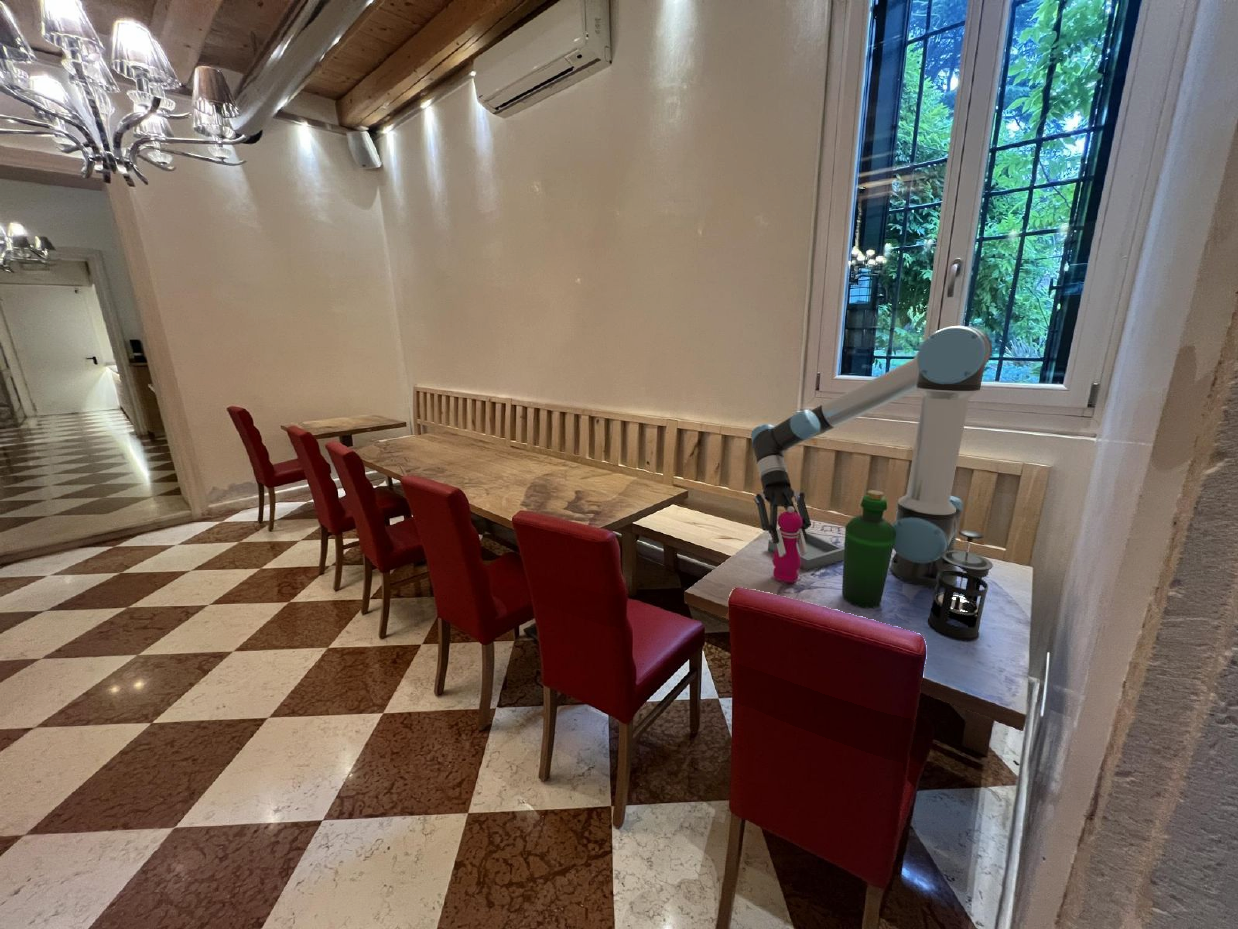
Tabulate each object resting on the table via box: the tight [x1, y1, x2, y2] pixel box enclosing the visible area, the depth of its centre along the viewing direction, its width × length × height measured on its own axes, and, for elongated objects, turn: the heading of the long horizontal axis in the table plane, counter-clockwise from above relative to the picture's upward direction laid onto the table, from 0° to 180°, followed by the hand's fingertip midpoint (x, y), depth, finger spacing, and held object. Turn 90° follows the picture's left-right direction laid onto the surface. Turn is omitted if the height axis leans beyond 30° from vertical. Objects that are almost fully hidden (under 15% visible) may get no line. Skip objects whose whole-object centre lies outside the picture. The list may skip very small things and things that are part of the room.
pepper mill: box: [771, 506, 802, 583], centre depth 121 cm, size 7×7×20 cm
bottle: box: [841, 489, 896, 609], centre depth 110 cm, size 11×11×28 cm
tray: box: [767, 531, 844, 572], centre depth 137 cm, size 15×15×4 cm
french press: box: [926, 529, 994, 642], centre depth 99 cm, size 12×9×23 cm
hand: (793, 554), depth 118 cm, fingers closed on pepper mill, 5 cm apart
